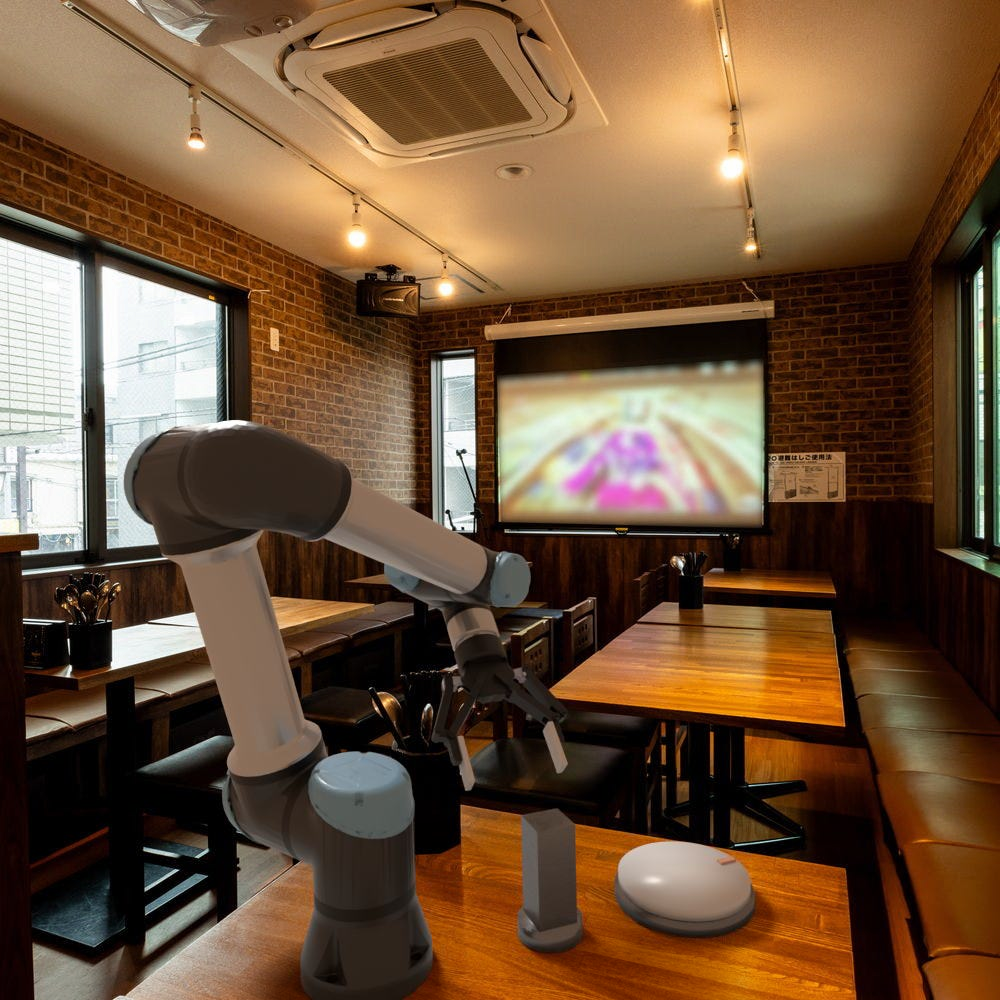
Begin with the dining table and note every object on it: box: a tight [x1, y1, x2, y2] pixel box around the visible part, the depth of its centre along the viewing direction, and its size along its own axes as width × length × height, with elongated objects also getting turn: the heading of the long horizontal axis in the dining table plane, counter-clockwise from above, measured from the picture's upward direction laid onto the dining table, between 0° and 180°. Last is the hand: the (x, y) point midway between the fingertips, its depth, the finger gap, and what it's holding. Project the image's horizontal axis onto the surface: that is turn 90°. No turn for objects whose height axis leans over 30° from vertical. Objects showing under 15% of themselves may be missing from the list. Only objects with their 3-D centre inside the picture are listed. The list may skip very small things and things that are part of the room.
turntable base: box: [614, 871, 756, 939], centre depth 99 cm, size 18×18×2 cm
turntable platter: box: [617, 841, 751, 922], centre depth 99 cm, size 17×17×2 cm
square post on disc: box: [517, 807, 584, 954], centre depth 92 cm, size 8×8×14 cm
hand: (517, 777), depth 101 cm, fingers open, 13 cm apart
